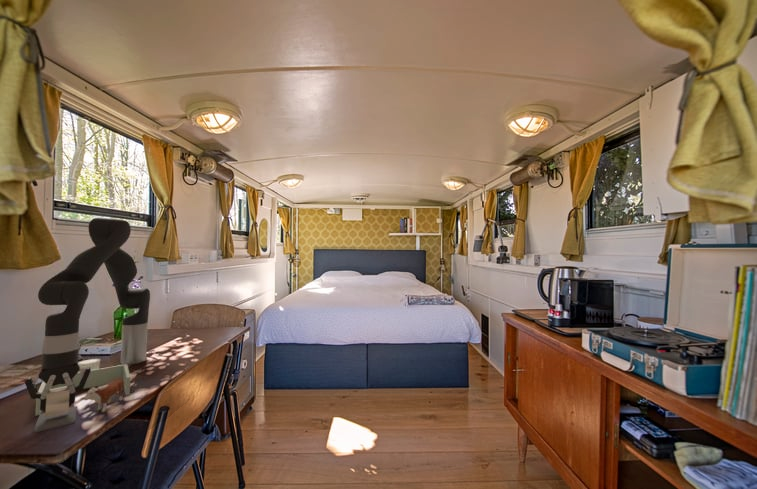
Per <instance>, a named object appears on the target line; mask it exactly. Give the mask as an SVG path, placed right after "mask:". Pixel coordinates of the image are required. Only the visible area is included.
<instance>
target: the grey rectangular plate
mask: <svg viewBox="0 0 757 489" xmlns="http://www.w3.org/2000/svg"><path fill="white" fill-rule="evenodd" d="M77 410H78V405H77V406H76V405H75V406H70V407H69V411H68V413H64V414H59V415H55V416H51V417H46V418H45V412H43V413H41V414H40V415H38V418H37V421H36V423H35V426H34V429H33V434H34V433H39V432H43V431H48V430H52V429H56V428H60V427H63V426H68V425H71V424H75V423H76V419H77Z"/></svg>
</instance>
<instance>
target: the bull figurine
mask: <svg viewBox="0 0 757 489" xmlns="http://www.w3.org/2000/svg"><path fill="white" fill-rule="evenodd" d="M123 389H124V382H123V380H121V379H120V378H117V379H116V380H114V381H112V382H110V383H108V384H106V385H101V386H97V387H91V388H89V390H88V391H87V392H86V394H85V395H84V397H83V400H84V401H87V400H91V401H94V402H95V403H96V405H97V408H96V412H97V411H101V413H105V412H106V411H107V405H109V404H111V402H112V398H114V397H115V395H118V393H119V398H118V402H121V401H123V398H124V397H123V394H124V391H123ZM102 405H103V406H102Z"/></svg>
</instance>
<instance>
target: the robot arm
mask: <svg viewBox="0 0 757 489" xmlns="http://www.w3.org/2000/svg"><path fill="white" fill-rule="evenodd" d="M131 229H132V228H131V225H130V223H129V222H128V220H125V219H121V218H113V217H112V218H110V217H95V218H92V219H91V220H90V221H89V223H88V233H89V234H88V235H89V237H90V239H91V241H92V243H93V244H94V246H92V247H90V248H87V249H86V250H83V251H82V252H79V254H77V255H76V256H75V257H74V258H73V259H72V261H71V262H70V263H69V264H68V265H67V266H66V268H65V269H63V270H62V271H59V272H58V273H57V274H54V276H53V277H51V278H49V279H47V281H46V282H44V283H43V284H42V285H41V286H40V288H39V290H38V293H37V298H38V300H39V302H40V303H41V304H42V305H46V306H66V307H65V308H64V310H63V312H57V313H53V314H50V315H48V316H47V317H46V318H45V329H44V339H43V343H42V349H41V353H42V354H41V355H42V356H41V370H40V371H39V374H36V375H33V376H28V377H26V379H25V381H24V384H25V387H26V389H27V392H28V394H29V396H30V398H31V399H32V400H36V399H40V400H41V402H40V410H41V412H43V413H45V412H46V396H47V393H48V392H49V390H50V388H51V386H55V385H58V384H66V385H67V387H68V389H70V394H69V407H72V405H74V404H75V403H76V393H77V392H78V391H80V390H84V389H83V388H84V385H85V383H86V381H87V378H88V376H89V374H90V371H91V368H90V367H87V368H80V366H79V365H78V354H79V353H80V350H79V346H80V335H79V332H80V330H79V329H80V318H81V314H82V312H83V309H84V307H85V304H86V302H87V300H88V297H89V294H90V293H89V292H90V288H89V287H88V285H87V283H89V282H90V281H92V279H93V278H94V277H95V275H96V274H97V272H98V271H99V270H100V268H101V267H102V265H103V264H104V265H105V268H106V270H107V273H108V275H109V277H110V279H111V281H112V284H113V287H114V289H115V294H116V296H117V300H118V304H119V306H120V308H122V309H125V310H131V309H132V310H133V309H134V310H135V309H138V310H137V312H136V313H134V314H132V315H128V316H125V317H123V318H122V321H121V322H122V327H121V346H120V365H124V364H127V365H134V364H135V365H136V364H140V363H143V362H145V361H146V360H147V350H148V349H147V347H148V346H147V345H148V325H149V324H148V323H149V322H148V321H149V312H150V310H149V309H150V301H151V292H150V289H149V288H146V287H145V288H139V287H138V288H129V285H130V284H131V283H132V282H133V280H134V279H135V278H136V276H137V274H138V269H137V265H136V262H135V260H134V258H133V256H131V255H130V254H129V253H128V252H126V251H125V250H124V249H122V248H121V247H122V246H123V245H125V243H126V242H127V241H128V240H129V238H130V235H131ZM78 372H81V374H80V375H81V376H82V379H81V381H80V383H79V385H77V386H75V385H74V382H73V379H72V378H73V377H74V376H75V375H76V374H77V373H78ZM38 379H40V380H41V381H42V382H45V383H46V386H45V388H44V390H43V392H42V393H40V392H38V391H39V389H38V388H37V386H36V384H37V383H38Z"/></svg>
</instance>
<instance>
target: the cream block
mask: <svg viewBox="0 0 757 489" xmlns="http://www.w3.org/2000/svg"><path fill="white" fill-rule="evenodd" d="M69 394H70V389H68V387H67V386H64V387H59V388H54V389H50V390H49V392H48V393H47V396H46V412H44V413H45V418H46V417H51V416H55V415H59V414H64V413H68V411H69V408H70V406H69Z"/></svg>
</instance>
